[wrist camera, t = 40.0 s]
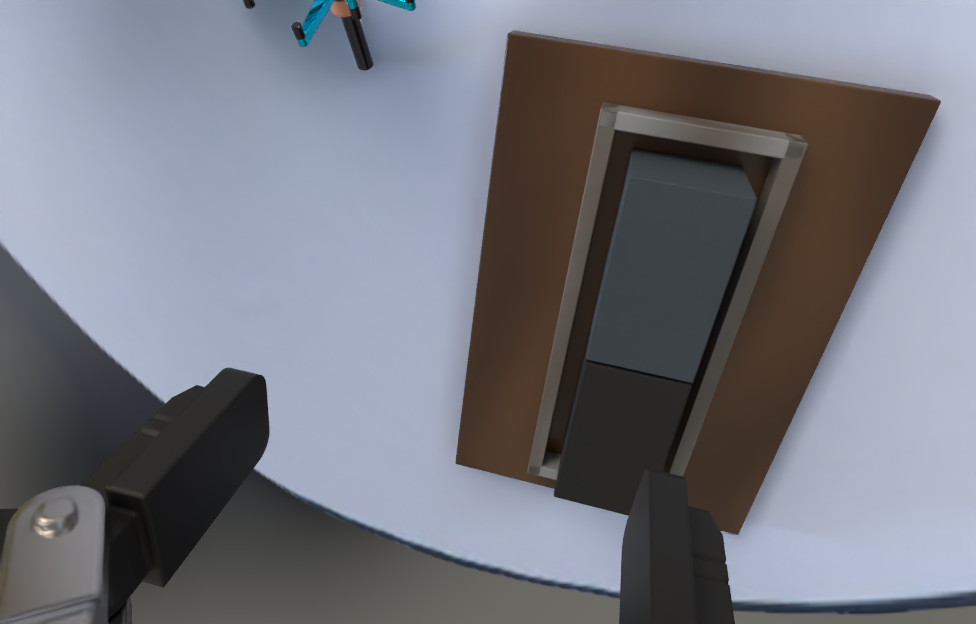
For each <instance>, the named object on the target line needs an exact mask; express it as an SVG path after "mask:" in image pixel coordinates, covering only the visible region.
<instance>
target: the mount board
mask: <svg viewBox="0 0 976 624" xmlns="http://www.w3.org/2000/svg"><path fill="white" fill-rule="evenodd" d="M940 103H941V101H940V100H938V99H936V98H934V97H932V96H930V95H925V94H918V93H912V92H905V91H899V90H893V89H886V88H880V87H873V86H867V85H860V84H854V83H848V82H841V81H835V80H828V79H822V78H815V77H809V76H803V75H796V74H790V73H783V72H777V71H770V70H764V69H758V68H751V67H745V66H738V65H732V64H725V63H719V62H713V61H706V60H700V59H693V58H687V57H680V56H674V55H667V54H661V53H655V52H648V51H642V50H635V49H629V48H622V47H616V46H610V45H603V44H597V43H590V42H584V41H577V40H571V39H565V38H558V37H552V36H545V35H539V34H532V33H526V32H520V31H512V32H510V33H508V35H507V44H506V52H505V60H504V68H503V76H502V85H501V93H500V101H499V109H498V118H497V126H496V134H495V142H494V150H493V159H492V167H491V175H490V183H489V191H488V200H487V208H486V216H485V224H484V233H483V241H482V249H481V257H480V265H479V274H478V282H477V290H476V298H475V307H474V315H473V323H472V331H471V339H470V348H469V356H468V364H467V372H466V381H465V389H464V397H463V405H462V413H461V422H460V430H459V438H458V446H457V455H456V464H459V465H463V466H467V467H471V468H475V469H479V470H483V471H487V472H491V473H495V474H498V475H502V476H506V477H510V478H514V479H518V480H522V481H526V482H530V483H534V484H538V485H542V486H546V487H550V488H554V489H555V485H556V480H557V474H558V469H559V464H560V458H561V453H562V447H563V442H564V438H565V434H566V429H567V425H568V421H569V417H570V412H571V408H572V404H573V399H574V395H575V391H576V387H577V382H578V378H579V374H580V369H581V365H582V361H583V357H584V352H585V348H586V344H587V340H588V335H589V331H590V327H591V322H592V319H593V313H594V309H595V305H596V300H597V296H598V292H599V287H600V283H601V279H602V275H603V270H604V266H605V262H606V258H607V253H608V249H609V245H610V240H611V236H612V232H613V228H614V223H615V219H616V215H617V211H618V206H619V202H620V198H621V193H622V189H623V185H624V181H625V176H626V172H627V168H628V164H629V159H630V155H631V151H632V148H639V149H645V150H651V151H657V152H662V153H668V154H674V155H679V156H685V157H691V158H696V159H702V160H708V161H713V162H719V163H725V164H731V165H736V166H742V167H744V170H745V172H746V175H747V177H748V179H749V182H750V184H751V186H752V189H753V191H754V193H755V196H756V198H757V202H756V205H755V208H754V210H753V213H752V216H751V219H750V222H749V225H748V227H747V230H746V233H745V236H744V239H743V242H742V245H741V247H740V250H739V253H738V256H737V259H736V262H735V265H734V267H733V270H732V273H731V276H730V279H729V282H728V284H727V287H726V290H725V293H724V296H723V299H722V302H721V304H720V307H719V310H718V313H717V316H716V319H715V322H714V324H713V327H712V330H711V333H710V336H709V339H708V342H707V344H706V347H705V350H704V353H703V356H702V359H701V361H700V364H699V367H698V370H697V373H696V376H695V379H694V381H693V383H691V390H690V393H689V396H688V399H687V402H686V404H685V407H684V410H683V413H682V416H681V419H680V422H679V424H678V427H677V430H676V433H675V436H674V439H673V442H672V444H671V447H670V450H669V453H668V456H667V459H666V462H665V464H664V467H663V470H662V472H666V473H670V474H674V475H678V476H683V477H685V479H686V483H687V494H688V506H691V507H695V508H699V509H703V510H707V511H709V512H710V514H711V516H712V518H713V519H714V521H715V523H716V525H717V526H718V528H719V530H720V531H724V532H728V533H732V534H736V535H738V534H739V531H740V529H741V527H742V525H743V523H744V521H745V519H746V517H747V514H748V512H749V510H750V508H751V506H752V504H753V502H754V499H755V497H756V495H757V493H758V491H759V489H760V487H761V485H762V482H763V480H764V478H765V476H766V474H767V472H768V470H769V467H770V465H771V463H772V461H773V459H774V457H775V455H776V453H777V450H778V448H779V446H780V444H781V442H782V440H783V438H784V435H785V433H786V431H787V429H788V427H789V425H790V423H791V421H792V418H793V416H794V414H795V412H796V410H797V408H798V406H799V403H800V401H801V399H802V397H803V395H804V393H805V391H806V389H807V386H808V384H809V382H810V380H811V378H812V376H813V374H814V372H815V369H816V367H817V365H818V363H819V361H820V359H821V357H822V354H823V352H824V350H825V348H826V346H827V344H828V342H829V340H830V337H831V335H832V333H833V331H834V329H835V327H836V325H837V322H838V320H839V318H840V316H841V314H842V312H843V310H844V308H845V305H846V303H847V301H848V299H849V297H850V295H851V293H852V290H853V288H854V286H855V284H856V282H857V280H858V278H859V276H860V273H861V271H862V269H863V267H864V265H865V263H866V261H867V258H868V256H869V254H870V252H871V250H872V248H873V246H874V244H875V241H876V239H877V237H878V235H879V233H880V231H881V229H882V226H883V224H884V222H885V220H886V218H887V216H888V214H889V212H890V209H891V207H892V205H893V203H894V201H895V199H896V197H897V194H898V192H899V190H900V188H901V186H902V184H903V182H904V180H905V177H906V175H907V173H908V171H909V169H910V167H911V165H912V162H913V160H914V158H915V156H916V154H917V152H918V150H919V148H920V145H921V143H922V141H923V139H924V137H925V135H926V133H927V130H928V128H929V126H930V124H931V122H932V120H933V118H934V116H935V113H936V111H937V109H938V107H939V105H940Z"/></svg>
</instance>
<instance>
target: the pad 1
mask: <svg viewBox="0 0 976 624" xmlns="http://www.w3.org/2000/svg"><path fill="white" fill-rule="evenodd" d="M756 202H757V198H756V196H755V193H754V191H753V189H752V186H751V184H750V182H749V179H748V177H747V175H746V172H745V170H744V167H742V166H736V165H731V164H725V163H719V162H713V161H708V160H702V159H696V158H691V157H685V156H679V155H674V154H668V153H662V152H657V151H651V150H645V149H639V148H632V151H631V155H630V159H629V164H628V168H627V172H626V176H625V181H624V185H623V189H622V193H621V198H620V202H619V206H618V211H617V215H616V219H615V223H614V228H613V232H612V236H611V240H610V245H609V249H608V253H607V258H606V262H605V266H604V270H603V275H602V279H601V283H600V287H599V292H598V296H597V300H596V305H595V309H594V313H593V319H592V325H591V331H590V337H589V343H588V349H587V355H586V359H587V360H591V361H596V362H600V363H605V364H609V365H614V366H618V367H623V368H627V369H632V370H636V371H641V372H645V373H650V374H654V375H659V376H663V377H668V378H672V379H677V380H681V381H686V382H690V383H693V381H694V379H695V376H696V373H697V370H698V367H699V364H700V361H701V359H702V356H703V353H704V350H705V347H706V344H707V342H708V339H709V336H710V333H711V330H712V327H713V324H714V322H715V319H716V316H717V313H718V310H719V307H720V304H721V302H722V299H723V296H724V293H725V290H726V287H727V284H728V282H729V279H730V276H731V273H732V270H733V267H734V265H735V262H736V259H737V256H738V253H739V250H740V247H741V245H742V242H743V239H744V236H745V233H746V230H747V227H748V225H749V222H750V219H751V216H752V213H753V210H754V208H755V205H756Z"/></svg>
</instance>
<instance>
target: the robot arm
mask: <svg viewBox="0 0 976 624" xmlns="http://www.w3.org/2000/svg"><path fill="white" fill-rule="evenodd" d="M268 439H269V416H268V403H267V389H266V381H265V378H264V377H263V376H262V375H258V374H254V373H250V372H246V371H241V370H237V369H233V368H225V369H223V370H222V371H221V372H220V373H219V374H218V375H217V376H216V377H215V378H214V379H213V380H212V381H211V382H210V383H209V384H208V385H207V386H206V387H202V386H198V385H196V386H194V387H192V388H190V389H188V390H186V391H184V392H182V393H180V394H178V395H176V396H174V397H172V398H171V399H170V400H169V401H168V402H167V403H166V404H165V405H164V406H163V407H162V408H161V409H160V410H159V411H157V412H156V413H155V414H154V418H153V419H152V418H150V419H149V420H148V421H147V422H146V423H145V424H144V425H143V426H142V427H141V428H140V430H139V432H138V433H137V432H135V433H134V434H133V435H132V436H131V437H130V438H129V439H128V440H127V441H126V442H125V443H124V444H123V445H122V446H121V447H120V448H119V449H118V450H116V451H115V452H114V453H113V454H112V455H111V456H110V457H109V458H108V459H107V460H106V461H105V462H104V463H103V464H102V465H101V466H99V467H98V468H97V469H96V470H95V471H94V472H93V473H92V474H91V475H90V476H89V477H88V478H87V479H86V480H85V481H84V482H83V483H81V484H80V485H79V486H64V487H59V488H55V489H52V490H49V491H46V492H44V493H41V494H39V495H37V496H35V497H34V498H32V499H30V500H29V501H28V502H26V503H25V504H23V505H22V506H21V507H20V508H18V509H0V624H132V604H131V598H130V595H131V594H132V593H133V592H134V590H135V589H136V588H137V587H138V585H139V584H140V583H141V582H142V581H143V582H147V583H151V584H154V585H157V586H161V587H164V586H165V585H166V584H167V582H168V581H169V580H170V578H171V577H172V576H173V574H174V573H175V572H176V571H177V569H178V568H179V566H180V565H181V564H182V563H183V561H184V560H185V558H186V557H187V556H188V554H189V553H190V552H191V551H192V549H193V548H194V547H195V545H196V544H197V543H198V541H199V540H200V539H201V537H202V536H203V535H204V533H205V532H206V531H207V529H208V528H209V527H210V525H211V524H212V523H213V521H214V520H215V519H216V517H217V516H218V515H219V513H220V512H221V511H222V509H223V508H224V507H225V505H226V504H227V503H228V501H229V500H230V499H231V497H232V496H233V495H234V493H235V492H236V490H237V489H238V488H239V487H240V485H241V484H242V483H243V481H244V480H245V479H246V477H247V476H248V475H249V474H250V472H251V471H252V470H253V468H254V467H255V466H256V464H257V463H258V462H259V460H260V459H261V457H262V455H263V453H264V451H265V449H266V446H267V443H268ZM725 561H726V556H725V549H724V542H723V535H722V533H721V531H720V530H719V528H718V526H717V525H716V523H715V521H714V519H713V518H712V516H711V514H710V512H709V511H707V510H703V509H699V508H695V507H691V506H688V494H687V483H686V479H685V477H683V476H678V475H674V474H670V473H666V472H661V471H657V470H653V469H649V468H646V470H645V471H644V473H643V476H642V479H641V482H640V485H639V488H638V491H637V494H636V497H635V499H634V502H633V505H632V508H631V511H630V514H629V517H628V520H627V524H626V528H625V532H624V538H623V545H622V560H621V589H620V619H619V624H735V622H734V615H733V607H732V600H731V593H730V585H728V581H729V578H728V571H727V565H726V564H725Z"/></svg>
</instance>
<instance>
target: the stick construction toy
mask: <svg viewBox="0 0 976 624" xmlns="http://www.w3.org/2000/svg"><path fill="white" fill-rule="evenodd" d="M378 1H381V2H384V3H387V4H390V5H393V6H396V7H400V8H403V9H406V10H409V11H413V10H415V9H416V3H415V0H378ZM243 2H244V4H245V6H246V8H248V9H251V8H253V7H254V6H255V2H254V0H243ZM361 7H362V1H361V0H314V2H313V4H312V6H311V8H310V11H309V13H308V15H307V17H306V19H305V21H304V23H303V25H301V23H299V22H295V23H293V24H292V26H291V27H292V30H293V32H294V34H295V37H296V39H297V41H298V44H299V46H300V47H306V46H307V45H308V44H309V42H310V40H311V39H312V37H313V35H314V34H315V32H316V30H317V29H318V27H319V25H320V24H321V22H322V20H323V19H324V17H325V16H326V14H327V12H328V11H329V9H330V8H331V11H332V13H333V14H334V15H336V16H339V17H341V19H342V21H343V24H344V27H345V30H346V33H347V36H348V39H349V42H350V45H351V48H352V51H353V54H354V57H355V60H356V63H357V66H358V68H359V69H360V70H369V69H370V68H371V67H372V66H373V60H372V57H371V54H370V51H369V47H368V44H367V41H366V38H365V34H364V31H363V28H362V25H361V22H360V19H361V17H362V15H361V12H360V9H361Z"/></svg>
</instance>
